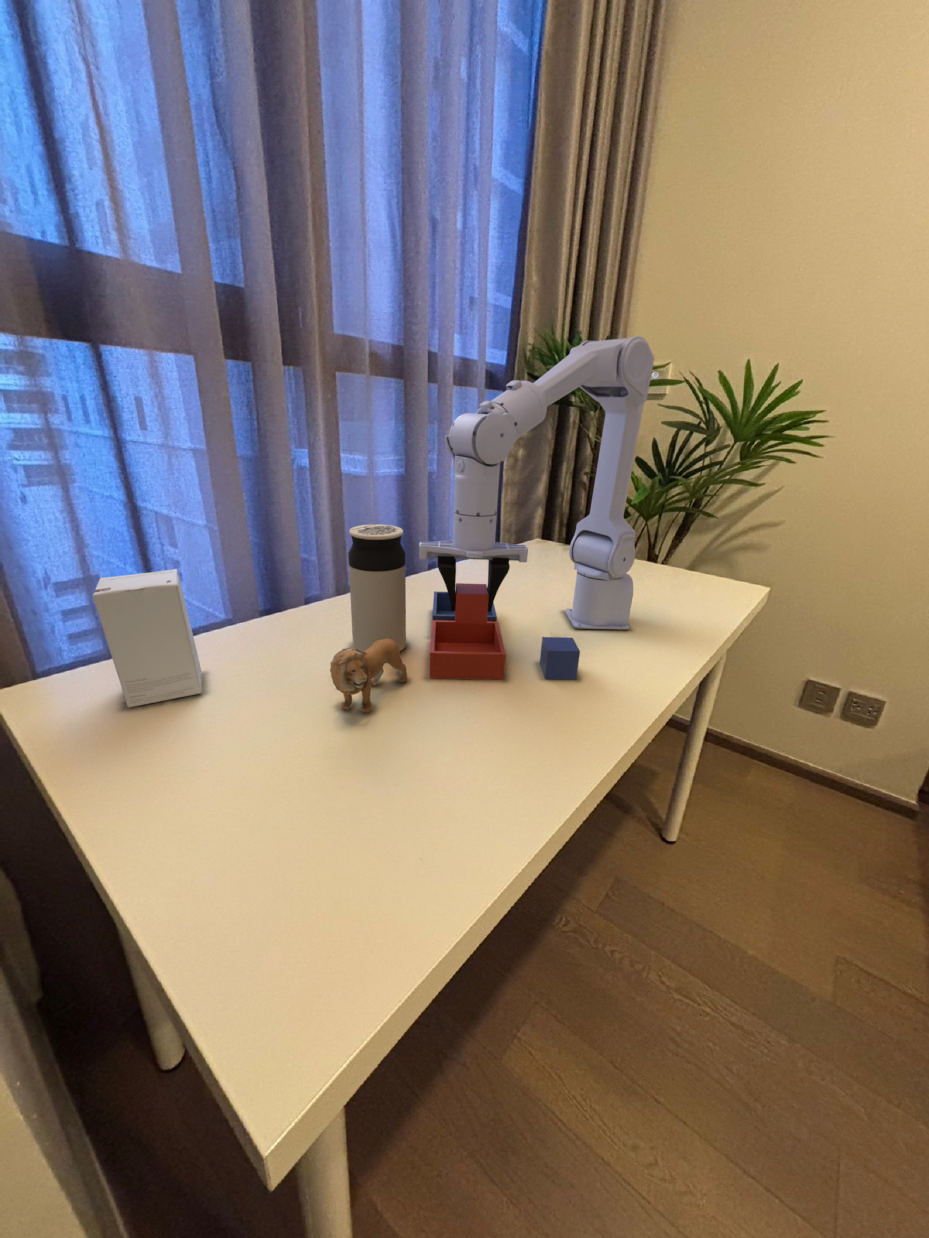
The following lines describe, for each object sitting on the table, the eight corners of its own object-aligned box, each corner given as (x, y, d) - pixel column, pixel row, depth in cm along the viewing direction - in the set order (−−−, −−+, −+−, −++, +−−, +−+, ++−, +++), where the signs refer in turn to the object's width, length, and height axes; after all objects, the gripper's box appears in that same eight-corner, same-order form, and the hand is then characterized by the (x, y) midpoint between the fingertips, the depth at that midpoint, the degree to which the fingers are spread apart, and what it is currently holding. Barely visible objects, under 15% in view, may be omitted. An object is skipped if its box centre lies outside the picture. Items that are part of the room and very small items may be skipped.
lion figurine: (363, 733, 57) (360, 662, 53) (322, 723, 58) (316, 653, 55) (414, 673, 70) (414, 613, 66) (379, 666, 71) (377, 607, 67)
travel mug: (416, 647, 77) (417, 531, 70) (375, 663, 72) (370, 539, 65) (383, 631, 82) (381, 521, 75) (342, 645, 77) (335, 528, 70)
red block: (484, 612, 74) (486, 583, 72) (486, 624, 70) (488, 594, 68) (454, 611, 74) (455, 583, 72) (455, 623, 70) (456, 593, 68)
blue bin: (490, 612, 91) (491, 592, 90) (495, 639, 81) (497, 616, 79) (433, 611, 91) (434, 591, 89) (432, 638, 81) (432, 615, 79)
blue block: (569, 664, 74) (572, 637, 72) (576, 679, 70) (580, 651, 68) (539, 664, 74) (542, 636, 72) (544, 679, 70) (548, 650, 68)
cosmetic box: (202, 674, 67) (182, 567, 61) (202, 696, 62) (180, 582, 56) (128, 686, 64) (99, 574, 58) (122, 710, 59) (90, 590, 53)
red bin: (496, 644, 79) (498, 621, 78) (504, 679, 69) (506, 654, 67) (431, 642, 79) (432, 619, 77) (429, 678, 69) (429, 652, 67)
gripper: (417, 516, 62) (417, 618, 67) (535, 520, 63) (525, 620, 68) (420, 506, 68) (420, 599, 74) (526, 509, 69) (518, 602, 74)
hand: (470, 608), depth 71 cm, fingers closed on red block, 4 cm apart
